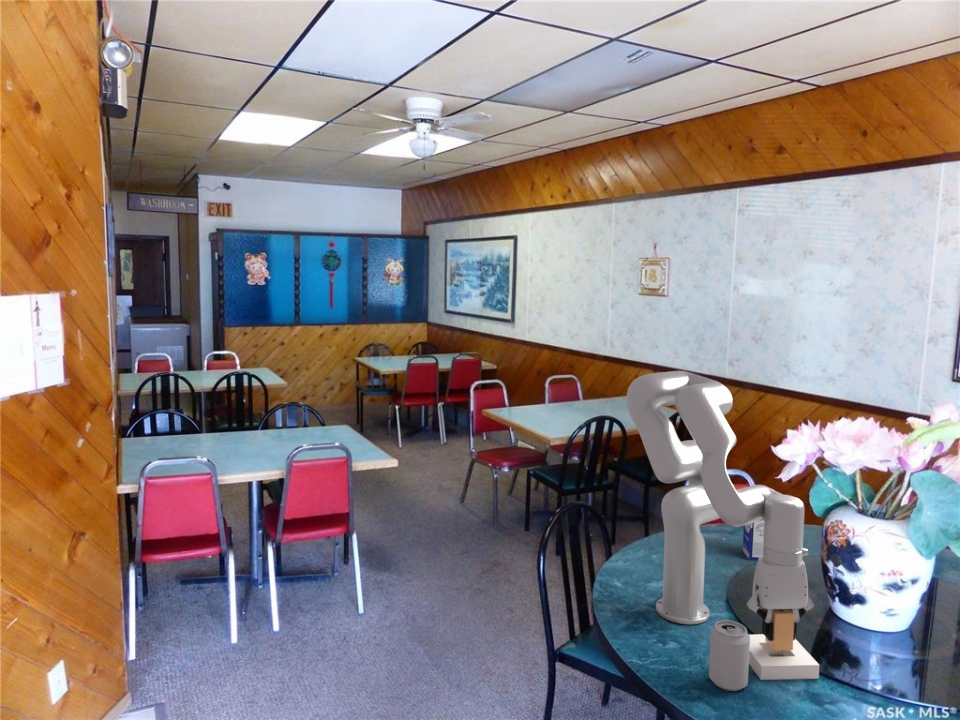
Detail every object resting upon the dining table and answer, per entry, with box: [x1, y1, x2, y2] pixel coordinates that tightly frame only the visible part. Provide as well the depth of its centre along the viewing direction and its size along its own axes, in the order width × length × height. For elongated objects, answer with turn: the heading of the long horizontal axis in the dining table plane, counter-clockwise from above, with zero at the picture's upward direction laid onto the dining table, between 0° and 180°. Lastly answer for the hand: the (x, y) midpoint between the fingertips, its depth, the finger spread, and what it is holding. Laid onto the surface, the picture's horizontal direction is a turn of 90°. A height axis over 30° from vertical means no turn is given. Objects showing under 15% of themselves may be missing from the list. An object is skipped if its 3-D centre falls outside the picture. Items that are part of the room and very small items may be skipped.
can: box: [708, 619, 750, 692], centre depth 135 cm, size 8×8×12 cm
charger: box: [765, 609, 794, 651], centre depth 141 cm, size 4×4×8 cm
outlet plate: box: [749, 633, 820, 681], centre depth 143 cm, size 12×12×3 cm
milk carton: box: [742, 521, 764, 562], centre depth 196 cm, size 7×7×20 cm
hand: (778, 636), depth 142 cm, fingers closed on charger, 4 cm apart
